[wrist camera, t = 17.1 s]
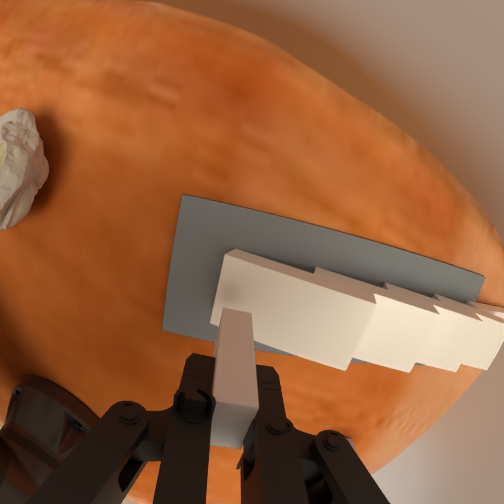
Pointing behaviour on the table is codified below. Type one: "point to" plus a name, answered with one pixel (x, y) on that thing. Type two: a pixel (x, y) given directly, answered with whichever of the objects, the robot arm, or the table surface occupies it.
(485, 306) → the domino
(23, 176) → the fossil replica
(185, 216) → the mat
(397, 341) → the domino
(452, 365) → the domino
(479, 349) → the domino
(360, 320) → the domino
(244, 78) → the table surface
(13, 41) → the table surface
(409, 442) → the table surface
